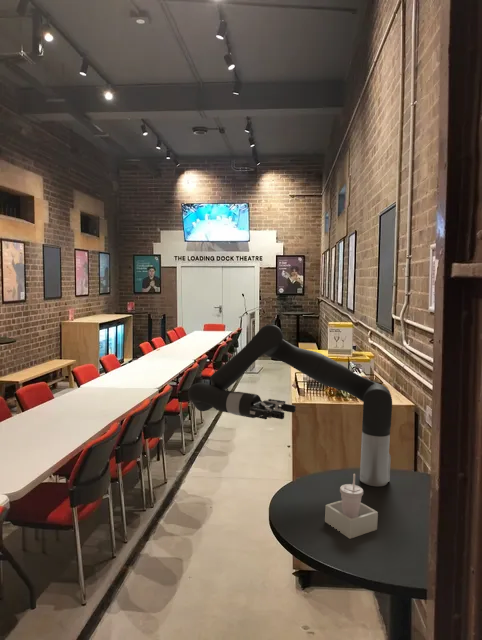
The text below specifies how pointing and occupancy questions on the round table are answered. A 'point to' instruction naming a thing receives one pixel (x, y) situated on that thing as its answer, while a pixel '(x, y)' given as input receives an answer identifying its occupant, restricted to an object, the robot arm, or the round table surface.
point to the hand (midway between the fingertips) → (289, 412)
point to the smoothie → (351, 499)
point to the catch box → (351, 520)
